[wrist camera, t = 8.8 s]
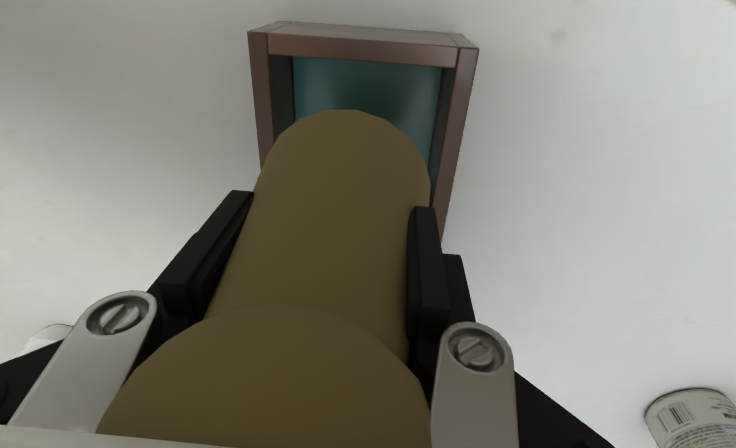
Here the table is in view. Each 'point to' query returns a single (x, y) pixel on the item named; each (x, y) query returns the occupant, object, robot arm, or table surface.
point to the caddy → (368, 86)
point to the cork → (301, 308)
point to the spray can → (693, 420)
